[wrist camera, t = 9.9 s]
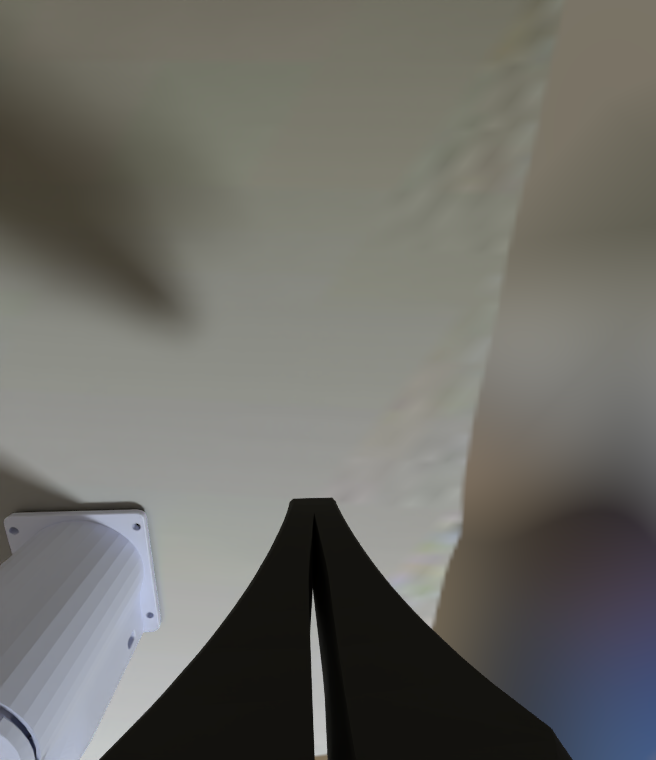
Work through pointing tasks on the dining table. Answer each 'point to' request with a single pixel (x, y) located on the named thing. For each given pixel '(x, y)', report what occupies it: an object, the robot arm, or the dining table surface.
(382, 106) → the dining table surface
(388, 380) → the dining table surface
